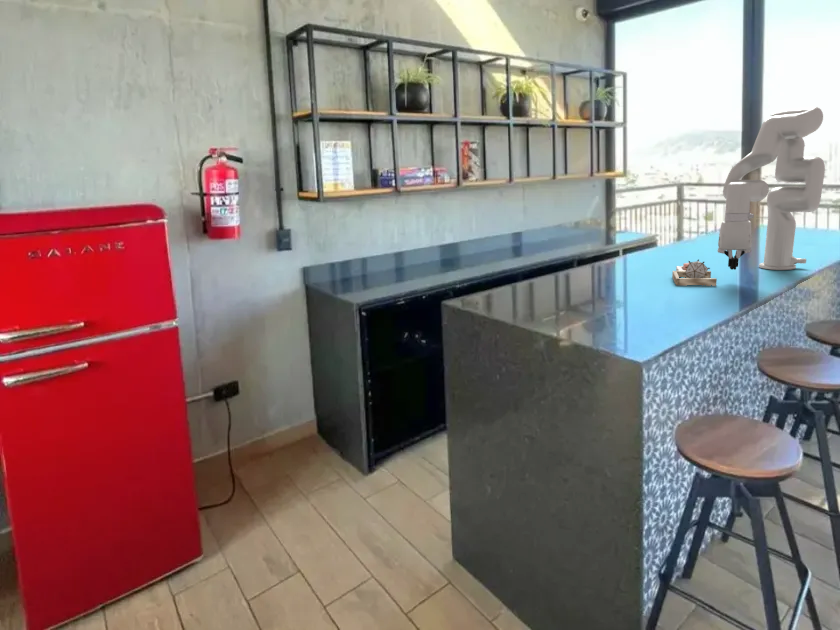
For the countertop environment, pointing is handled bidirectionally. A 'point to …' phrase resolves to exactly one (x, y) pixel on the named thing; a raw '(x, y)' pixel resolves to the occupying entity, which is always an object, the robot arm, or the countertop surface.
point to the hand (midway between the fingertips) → (732, 268)
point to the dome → (685, 266)
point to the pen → (693, 279)
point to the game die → (696, 270)
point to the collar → (679, 268)
